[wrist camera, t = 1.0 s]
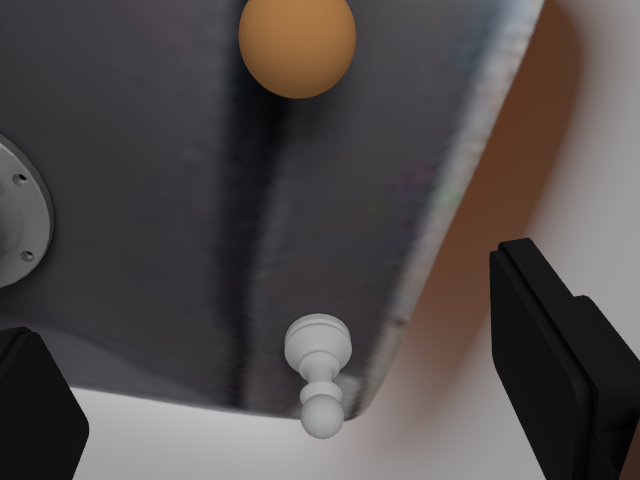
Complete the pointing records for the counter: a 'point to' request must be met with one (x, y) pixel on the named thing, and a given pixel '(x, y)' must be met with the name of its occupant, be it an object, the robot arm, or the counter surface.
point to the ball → (297, 44)
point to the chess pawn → (319, 370)
